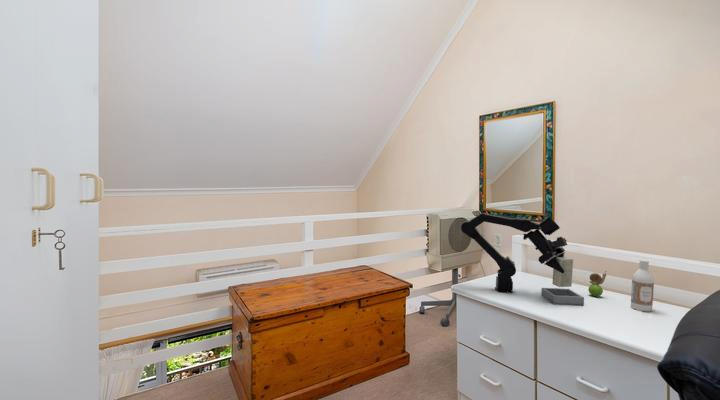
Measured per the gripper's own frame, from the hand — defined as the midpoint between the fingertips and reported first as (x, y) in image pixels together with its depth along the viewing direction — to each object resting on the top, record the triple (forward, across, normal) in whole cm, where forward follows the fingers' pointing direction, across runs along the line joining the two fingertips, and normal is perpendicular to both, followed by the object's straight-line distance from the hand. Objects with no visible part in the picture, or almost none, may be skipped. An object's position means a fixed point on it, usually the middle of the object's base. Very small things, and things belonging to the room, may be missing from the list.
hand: (566, 271), depth 153 cm
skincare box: (+4, 0, +6) cm, 7 cm away
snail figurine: (+15, +18, +3) cm, 24 cm away
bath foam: (+27, +13, -8) cm, 31 cm away
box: (+8, 0, +10) cm, 13 cm away
